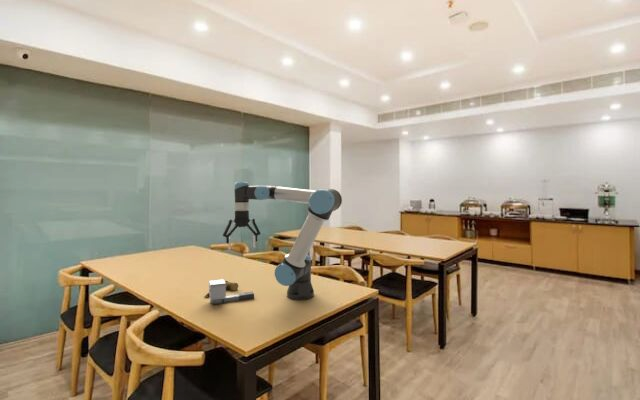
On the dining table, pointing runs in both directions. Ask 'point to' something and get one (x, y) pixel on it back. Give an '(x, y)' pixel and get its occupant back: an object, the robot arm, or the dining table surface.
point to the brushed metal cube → (217, 289)
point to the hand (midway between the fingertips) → (242, 248)
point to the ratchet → (233, 298)
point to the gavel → (228, 287)
